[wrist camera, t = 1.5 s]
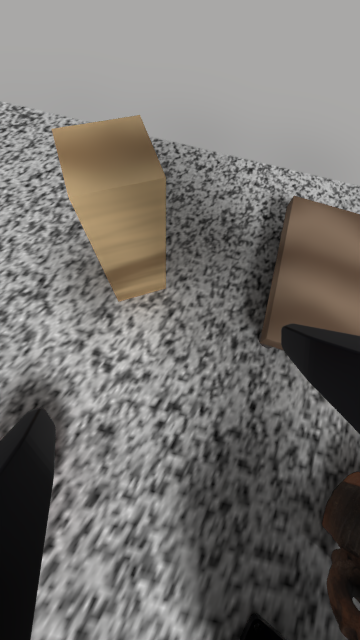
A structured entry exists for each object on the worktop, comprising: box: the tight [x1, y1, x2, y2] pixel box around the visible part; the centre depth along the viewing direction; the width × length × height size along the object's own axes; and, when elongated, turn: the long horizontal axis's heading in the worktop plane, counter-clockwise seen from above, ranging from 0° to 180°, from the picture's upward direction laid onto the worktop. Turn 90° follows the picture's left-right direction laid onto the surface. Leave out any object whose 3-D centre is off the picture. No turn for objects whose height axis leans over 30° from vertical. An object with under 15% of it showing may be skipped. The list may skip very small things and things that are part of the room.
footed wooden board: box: [259, 196, 360, 350], centre depth 23 cm, size 16×12×4 cm
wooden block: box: [52, 115, 166, 301], centre depth 19 cm, size 5×5×13 cm
